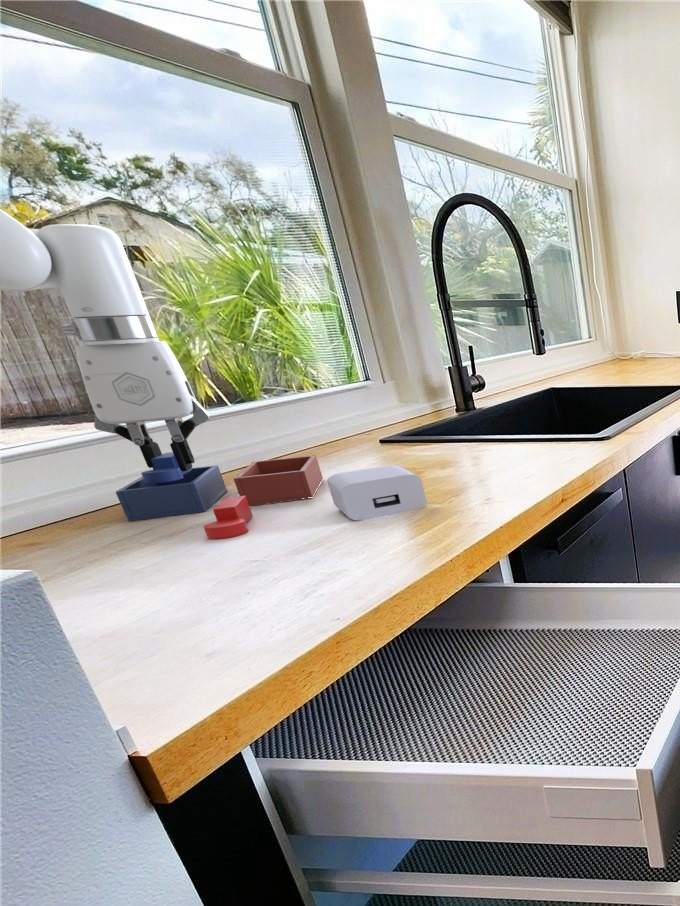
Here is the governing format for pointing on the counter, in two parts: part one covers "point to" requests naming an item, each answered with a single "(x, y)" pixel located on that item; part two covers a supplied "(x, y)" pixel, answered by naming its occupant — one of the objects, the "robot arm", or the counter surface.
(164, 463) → the navy stepped block
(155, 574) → the counter surface
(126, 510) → the navy bin
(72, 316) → the robot arm
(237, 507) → the red stamp
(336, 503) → the charger
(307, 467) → the red bin
